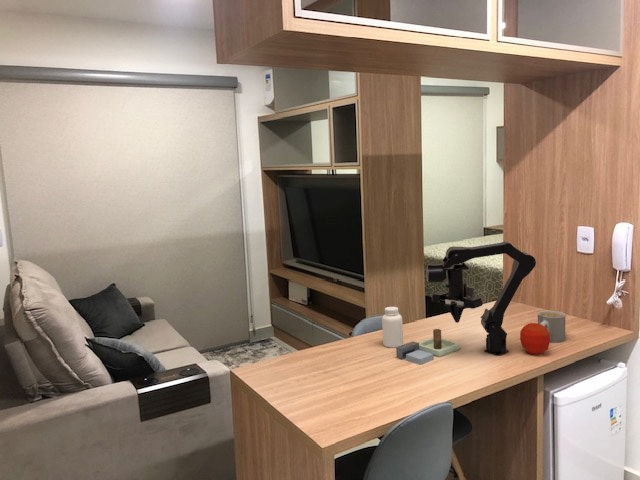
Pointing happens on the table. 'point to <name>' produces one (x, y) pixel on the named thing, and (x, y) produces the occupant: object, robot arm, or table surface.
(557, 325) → the coffee mug
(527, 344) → the apple
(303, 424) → the table surface
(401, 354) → the dark gray block
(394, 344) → the pill bottle
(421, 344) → the tray
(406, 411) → the table surface
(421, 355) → the board
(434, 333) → the dowel
